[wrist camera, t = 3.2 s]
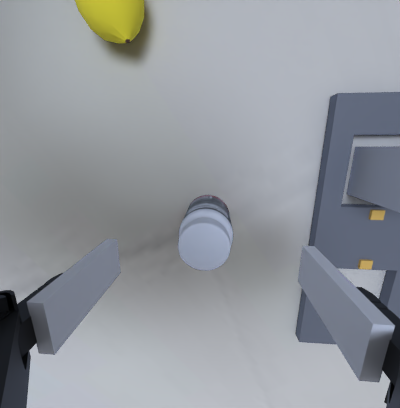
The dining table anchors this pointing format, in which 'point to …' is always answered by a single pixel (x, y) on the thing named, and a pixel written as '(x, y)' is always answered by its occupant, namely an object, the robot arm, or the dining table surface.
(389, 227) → the dock
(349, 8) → the dining table surface
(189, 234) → the pill bottle
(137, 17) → the lemon
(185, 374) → the dining table surface
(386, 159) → the square plug
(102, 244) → the robot arm
